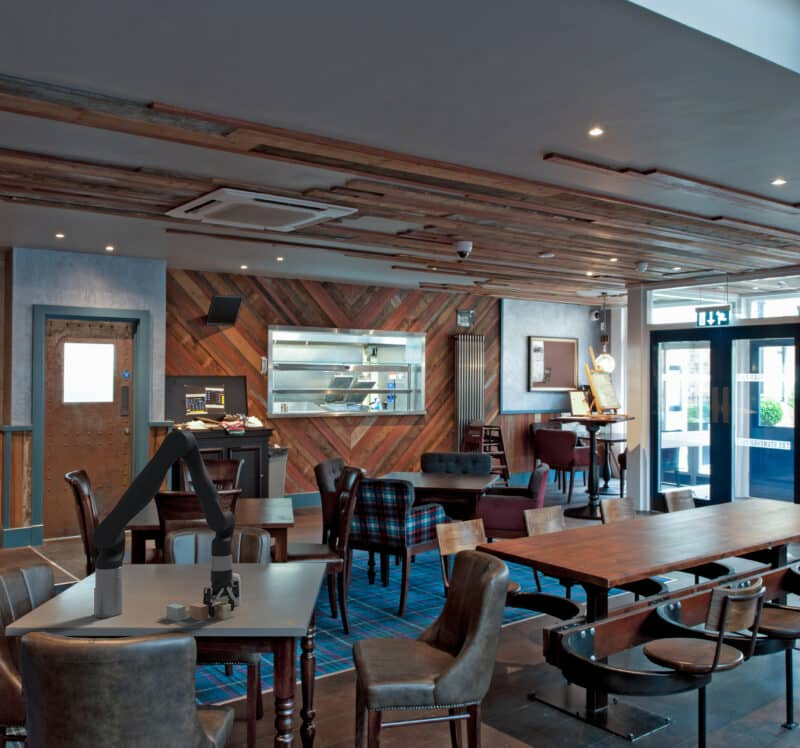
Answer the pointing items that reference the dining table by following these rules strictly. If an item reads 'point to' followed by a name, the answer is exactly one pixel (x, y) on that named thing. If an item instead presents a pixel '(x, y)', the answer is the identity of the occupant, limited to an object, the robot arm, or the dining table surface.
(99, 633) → the dining table surface
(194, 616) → the terracotta brick
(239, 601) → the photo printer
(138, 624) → the dining table surface
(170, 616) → the grey green brick
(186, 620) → the charcoal mat
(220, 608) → the maple brick
